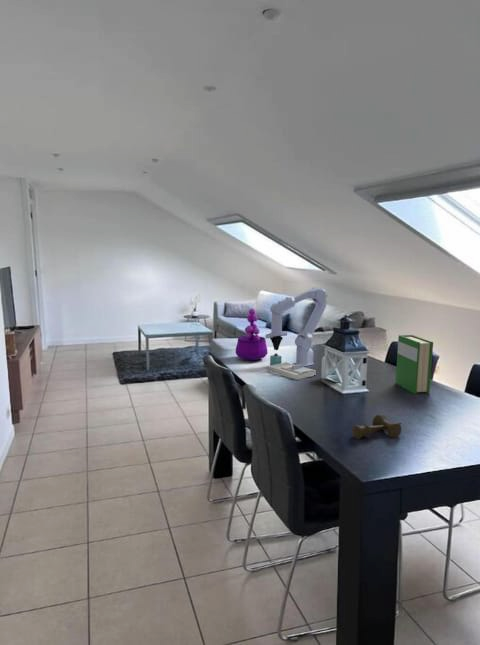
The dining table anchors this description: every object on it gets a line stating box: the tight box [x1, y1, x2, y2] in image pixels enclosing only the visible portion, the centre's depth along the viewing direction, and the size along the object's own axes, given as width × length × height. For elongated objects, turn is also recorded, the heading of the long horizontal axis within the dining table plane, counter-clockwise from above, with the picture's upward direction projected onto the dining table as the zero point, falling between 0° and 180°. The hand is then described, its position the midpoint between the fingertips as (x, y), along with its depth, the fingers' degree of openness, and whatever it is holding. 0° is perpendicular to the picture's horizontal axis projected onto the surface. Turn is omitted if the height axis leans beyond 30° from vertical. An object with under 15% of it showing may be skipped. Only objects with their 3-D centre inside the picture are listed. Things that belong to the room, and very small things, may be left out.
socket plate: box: [266, 362, 317, 380], centre depth 251 cm, size 14×24×3 cm, turn 38°
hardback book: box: [395, 334, 434, 395], centre depth 226 cm, size 18×7×24 cm, turn 10°
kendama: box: [351, 413, 402, 440], centre depth 170 cm, size 6×10×20 cm
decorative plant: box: [235, 308, 268, 361], centre depth 280 cm, size 19×18×30 cm
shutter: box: [292, 364, 311, 373], centre depth 246 cm, size 7×7×2 cm
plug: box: [269, 353, 282, 366], centre depth 265 cm, size 4×4×7 cm
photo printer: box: [320, 355, 326, 380], centre depth 238 cm, size 10×4×12 cm, turn 39°
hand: (276, 349), depth 264 cm, fingers closed
